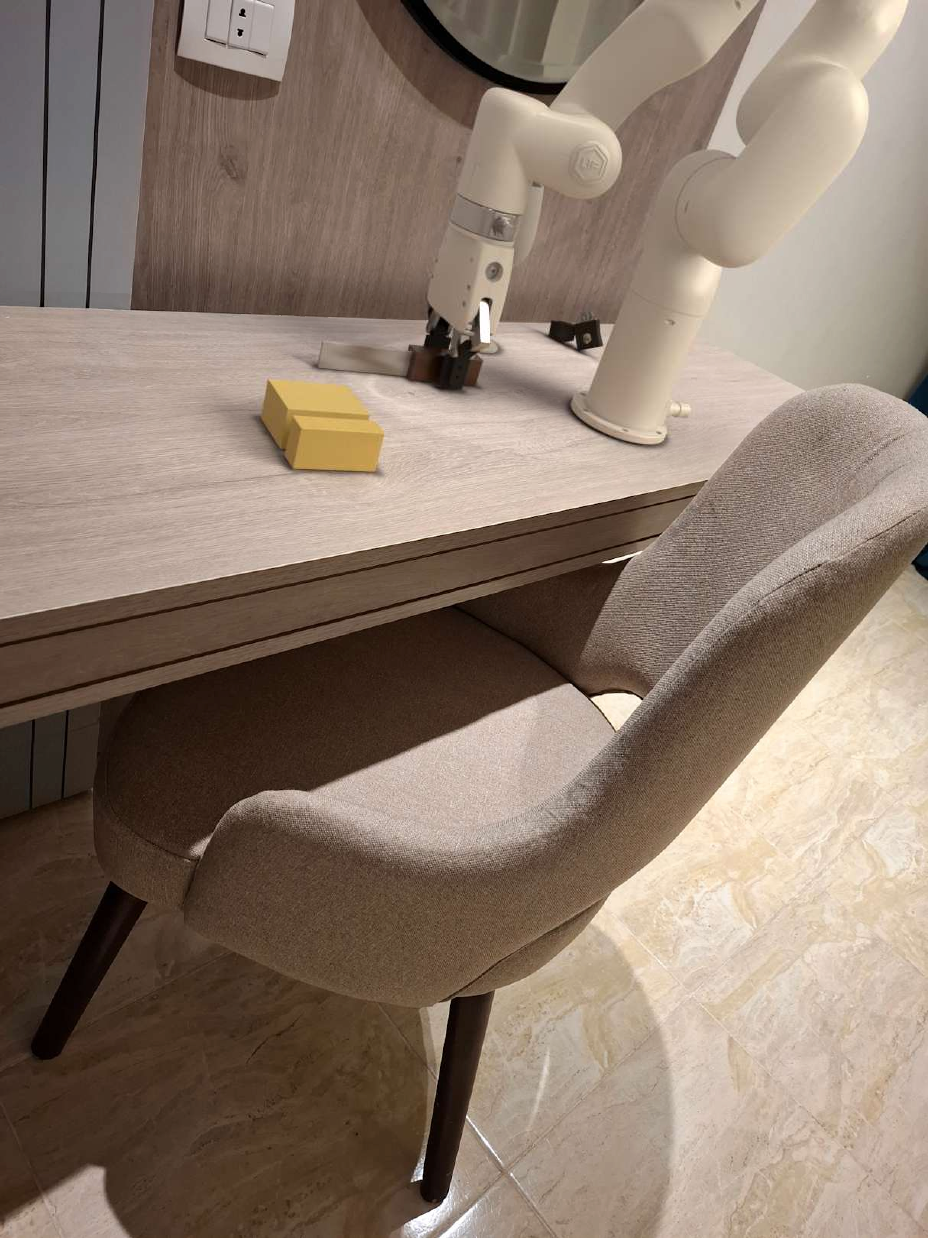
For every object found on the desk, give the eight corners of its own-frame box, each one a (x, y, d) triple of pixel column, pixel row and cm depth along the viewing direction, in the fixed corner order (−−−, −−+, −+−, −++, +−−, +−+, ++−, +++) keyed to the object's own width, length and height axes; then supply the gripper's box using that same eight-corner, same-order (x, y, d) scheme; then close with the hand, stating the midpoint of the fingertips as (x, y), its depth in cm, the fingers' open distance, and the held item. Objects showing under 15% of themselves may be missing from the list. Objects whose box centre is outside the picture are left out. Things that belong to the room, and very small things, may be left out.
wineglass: (494, 358, 120) (546, 193, 109) (440, 339, 120) (487, 171, 109) (502, 343, 126) (553, 186, 115) (451, 325, 126) (497, 166, 115)
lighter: (549, 356, 136) (544, 320, 135) (555, 354, 138) (550, 319, 136) (598, 347, 132) (592, 310, 130) (603, 345, 133) (598, 309, 132)
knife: (466, 378, 111) (474, 351, 109) (475, 386, 109) (483, 360, 108) (313, 362, 101) (319, 333, 99) (321, 371, 99) (327, 342, 97)
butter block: (338, 423, 90) (347, 385, 87) (360, 452, 86) (370, 414, 83) (260, 417, 85) (267, 378, 83) (280, 449, 81) (287, 408, 79)
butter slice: (365, 459, 85) (375, 420, 83) (375, 472, 83) (385, 432, 81) (284, 455, 81) (292, 414, 79) (292, 469, 79) (300, 427, 77)
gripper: (551, 252, 94) (498, 412, 104) (479, 202, 105) (437, 351, 115) (491, 240, 90) (442, 408, 100) (422, 190, 101) (384, 345, 111)
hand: (439, 376), depth 108 cm, fingers open, 4 cm apart
